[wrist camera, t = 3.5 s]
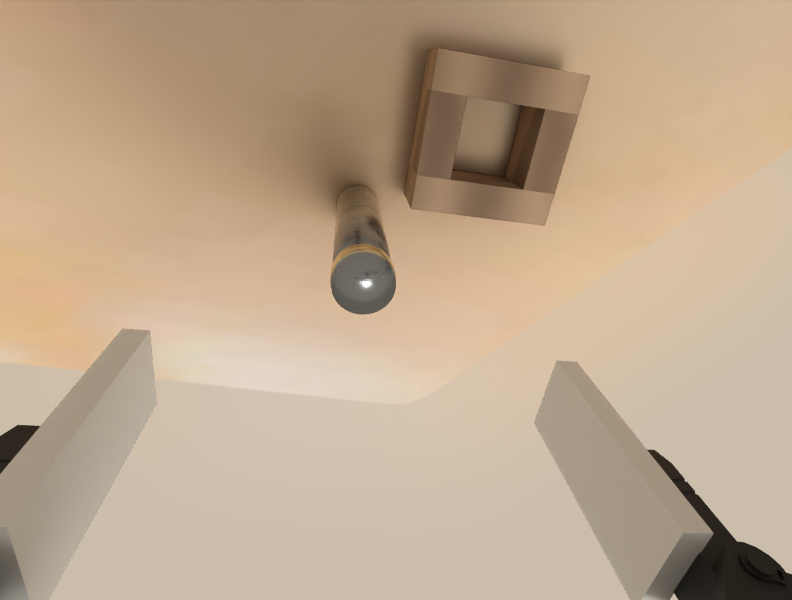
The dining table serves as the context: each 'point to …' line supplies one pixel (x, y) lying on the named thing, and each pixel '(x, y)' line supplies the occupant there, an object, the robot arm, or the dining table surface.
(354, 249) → the metal cylinder
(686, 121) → the dining table surface
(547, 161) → the square wooden frame
